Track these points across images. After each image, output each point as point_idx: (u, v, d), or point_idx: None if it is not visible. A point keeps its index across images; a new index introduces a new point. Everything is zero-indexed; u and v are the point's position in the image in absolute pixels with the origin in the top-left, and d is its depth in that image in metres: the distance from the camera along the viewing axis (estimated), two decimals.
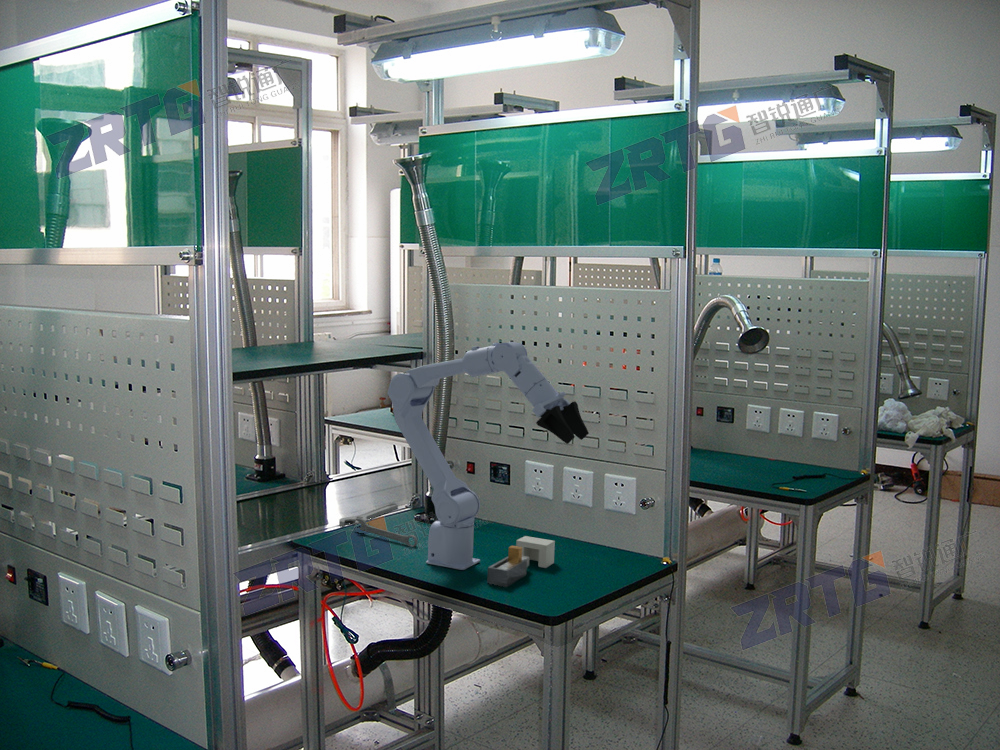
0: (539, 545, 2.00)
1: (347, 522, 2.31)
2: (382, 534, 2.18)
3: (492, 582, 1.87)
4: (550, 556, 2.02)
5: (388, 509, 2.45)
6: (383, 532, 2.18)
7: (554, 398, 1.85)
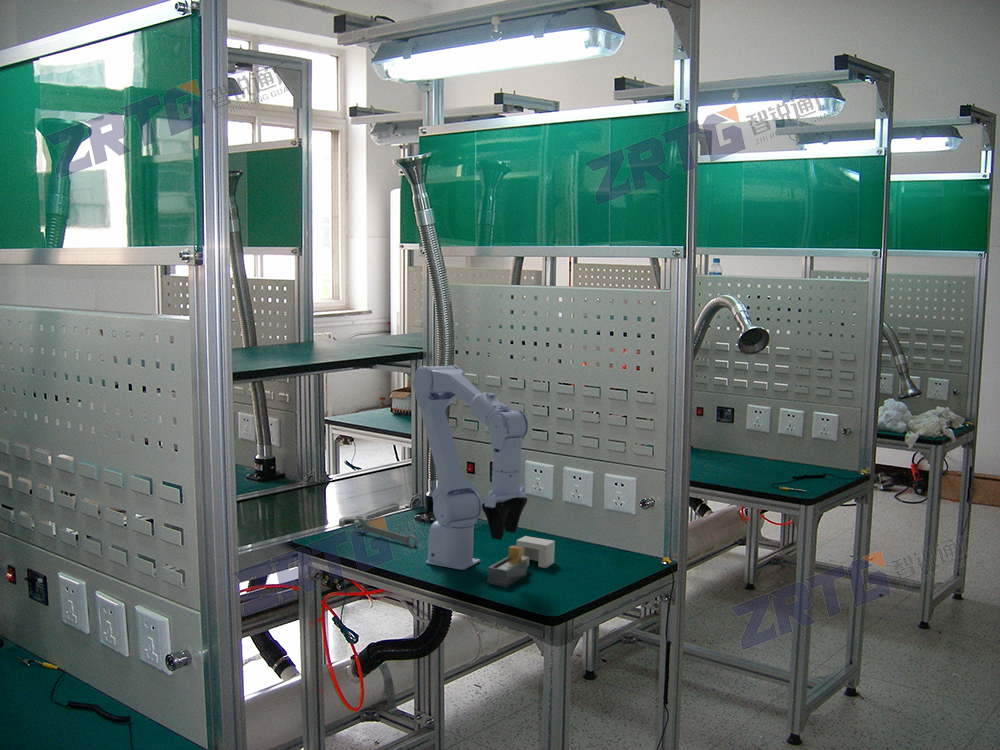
0: (539, 545, 2.00)
1: (347, 522, 2.32)
2: (383, 534, 2.18)
3: (492, 582, 1.87)
4: (550, 556, 2.02)
5: (389, 509, 2.45)
6: (384, 532, 2.18)
7: (511, 496, 1.84)
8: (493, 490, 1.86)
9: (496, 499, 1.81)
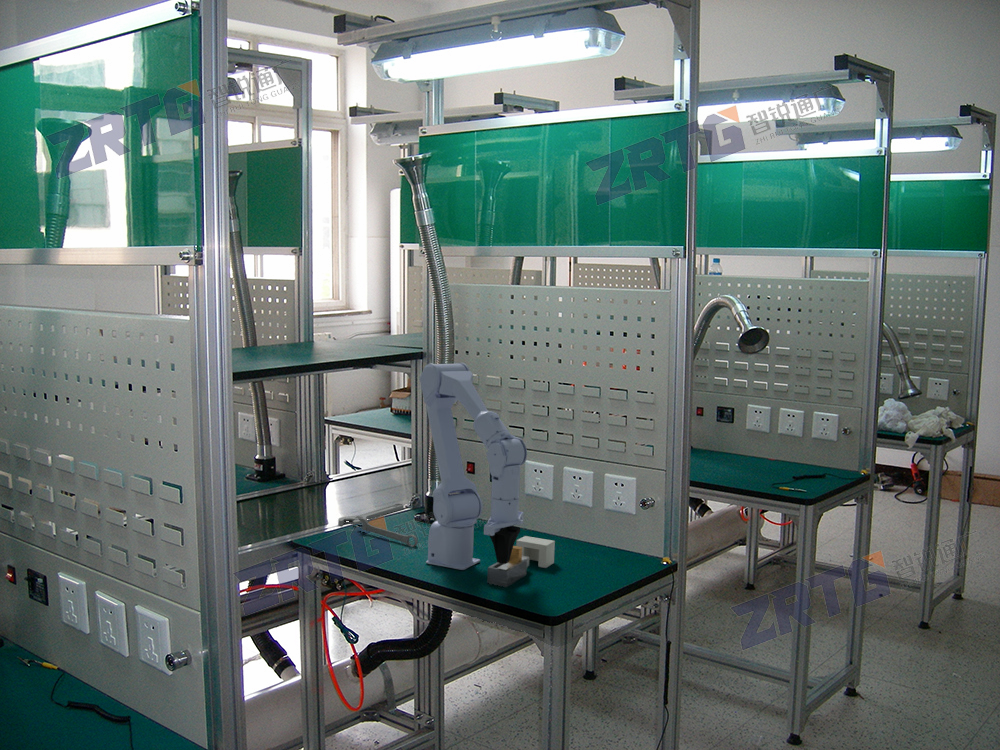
0: (539, 545, 2.00)
1: None
2: (383, 534, 2.18)
3: (492, 582, 1.87)
4: (550, 556, 2.02)
5: (392, 509, 2.45)
6: (385, 532, 2.18)
7: (510, 523, 1.85)
8: (492, 517, 1.86)
9: (495, 527, 1.82)
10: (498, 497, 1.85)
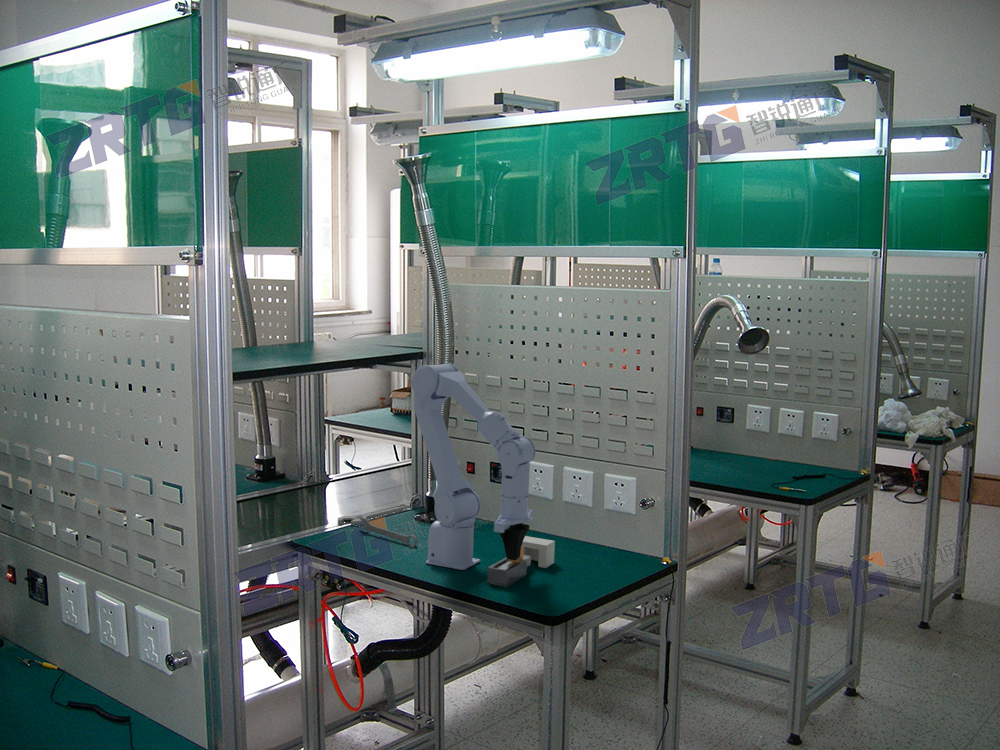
0: (539, 545, 2.00)
1: (346, 521, 2.33)
2: (384, 533, 2.18)
3: (492, 582, 1.87)
4: (550, 556, 2.02)
5: (395, 510, 2.44)
6: (385, 532, 2.18)
7: (520, 521, 1.89)
8: (502, 515, 1.90)
9: (505, 524, 1.86)
10: (512, 495, 1.88)
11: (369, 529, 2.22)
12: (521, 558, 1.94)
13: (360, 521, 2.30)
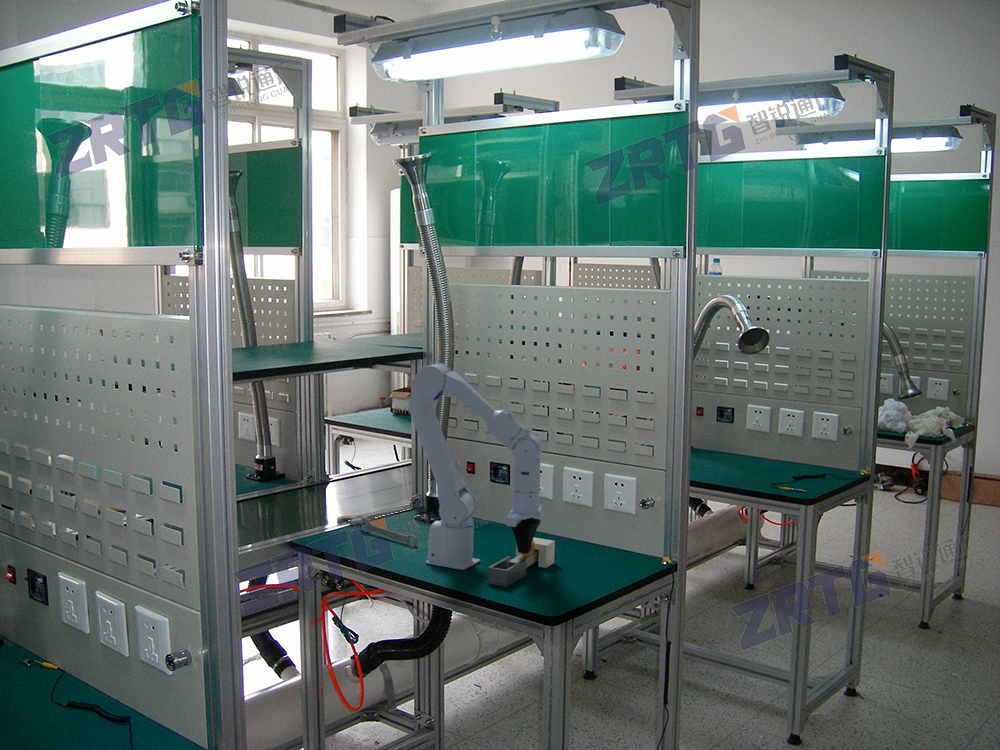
0: (539, 545, 2.00)
1: (346, 520, 2.33)
2: (385, 533, 2.19)
3: (492, 582, 1.87)
4: (550, 556, 2.02)
5: (399, 510, 2.44)
6: (386, 532, 2.18)
7: (531, 515, 1.94)
8: (514, 510, 1.95)
9: (517, 519, 1.91)
10: (529, 491, 1.94)
11: (370, 529, 2.22)
12: (532, 552, 1.99)
13: (359, 521, 2.30)
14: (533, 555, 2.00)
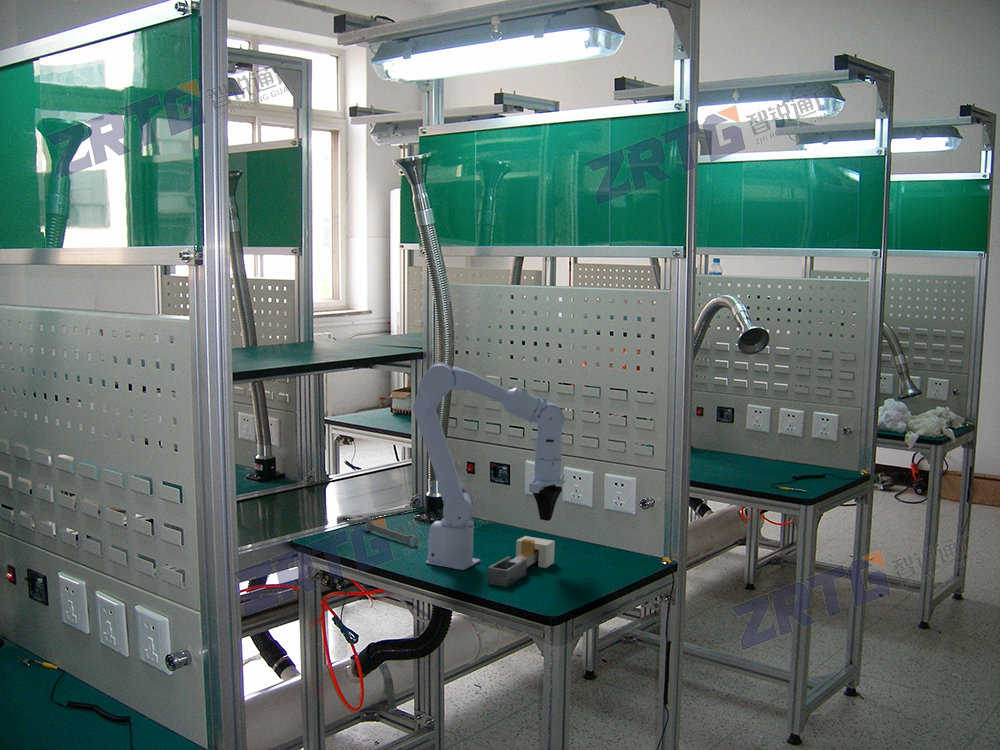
0: (539, 545, 2.00)
1: None
2: (386, 533, 2.19)
3: (492, 582, 1.87)
4: (550, 556, 2.02)
5: (403, 511, 2.43)
6: (387, 532, 2.19)
7: (553, 482, 1.96)
8: (536, 477, 1.98)
9: (540, 485, 1.93)
10: (553, 458, 1.96)
11: (372, 528, 2.23)
12: (532, 552, 1.99)
13: (357, 520, 2.31)
14: (533, 555, 2.00)
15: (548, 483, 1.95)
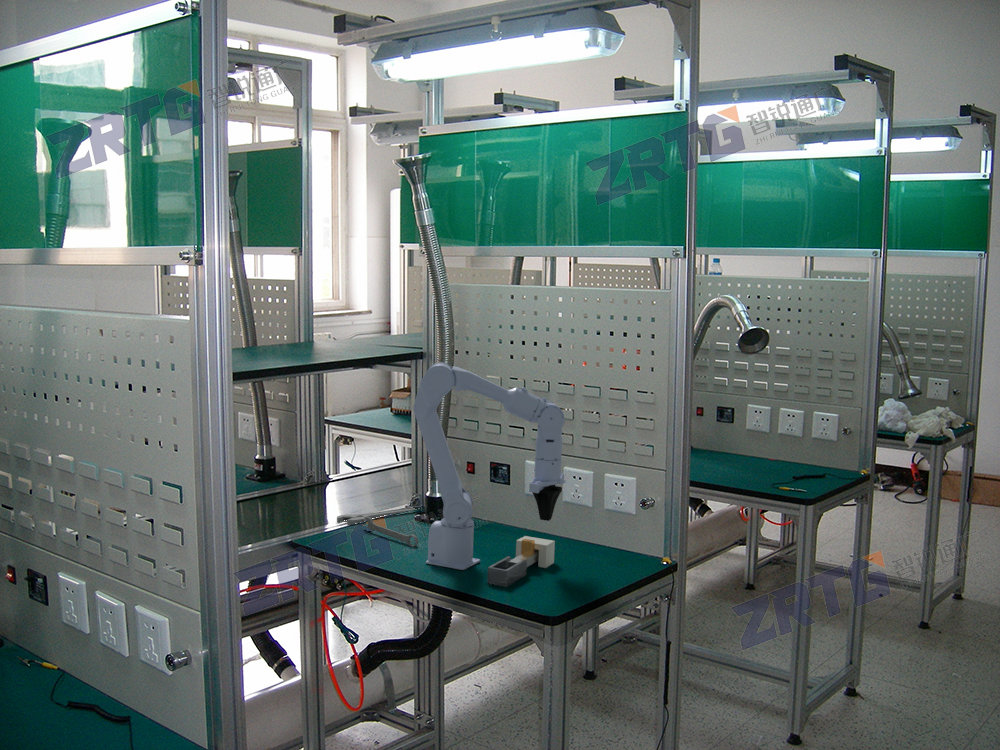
0: (539, 545, 2.00)
1: (347, 519, 2.35)
2: (386, 533, 2.19)
3: (492, 582, 1.87)
4: (550, 556, 2.02)
5: None
6: (388, 531, 2.19)
7: (553, 482, 1.96)
8: (536, 477, 1.98)
9: (540, 485, 1.93)
10: (553, 458, 1.96)
11: (372, 528, 2.23)
12: (532, 552, 1.99)
13: (357, 520, 2.31)
14: (533, 555, 2.00)
15: (548, 483, 1.95)
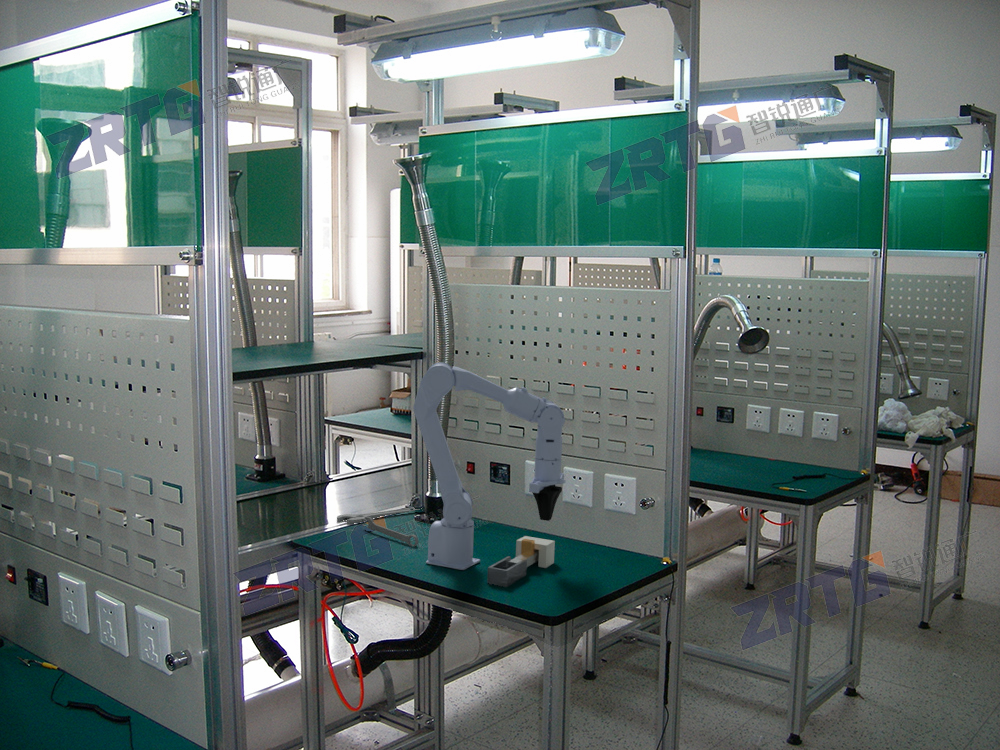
0: (539, 545, 2.00)
1: (347, 519, 2.35)
2: (387, 533, 2.19)
3: (492, 582, 1.87)
4: (550, 556, 2.02)
5: None
6: (388, 531, 2.19)
7: (553, 482, 1.96)
8: (536, 477, 1.98)
9: (540, 485, 1.93)
10: (553, 458, 1.96)
11: (373, 528, 2.23)
12: (532, 552, 1.99)
13: (357, 520, 2.31)
14: (533, 555, 2.00)
15: (548, 483, 1.95)
